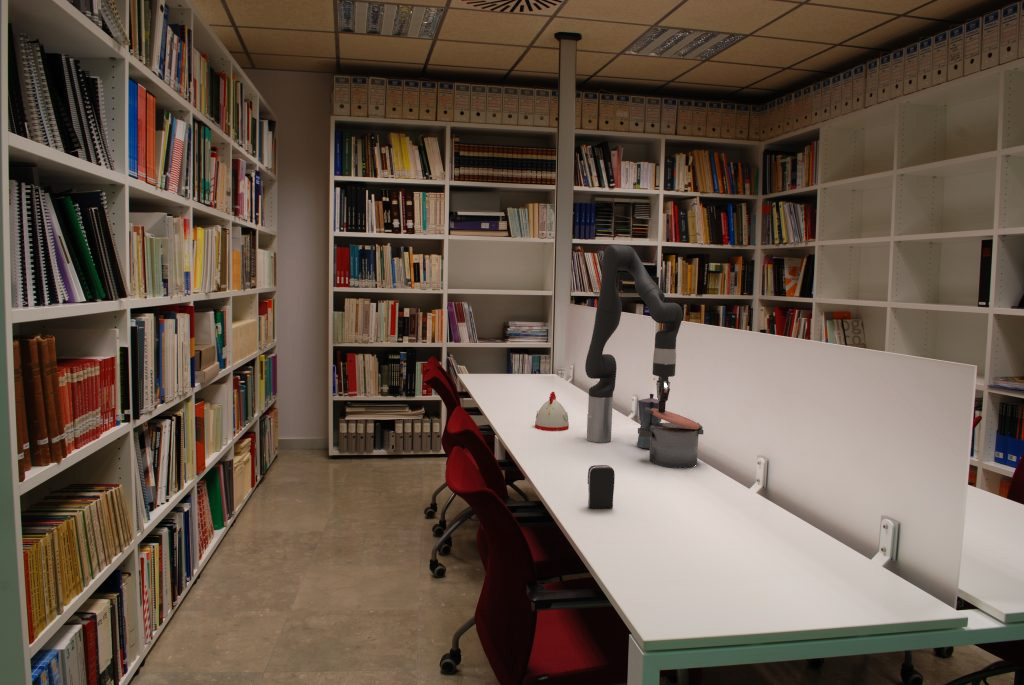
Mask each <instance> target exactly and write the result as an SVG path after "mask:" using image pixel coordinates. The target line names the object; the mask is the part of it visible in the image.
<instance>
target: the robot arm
mask: <svg viewBox="0 0 1024 685" xmlns="http://www.w3.org/2000/svg"><path fill="white" fill-rule="evenodd" d="M603 252H604V253H603V256H602V265H601V266H602V267H601V279H600V288H599V295H598V300H597V304H596V311H595V318H594V326H593V328H592V335H591V340H590V344H589V346H588V350H587V354H586V355H587V356H586V359H585V366H584V370H585V374H586V376H587V377H588V378H589V379H593V380H596V379H597V380H598V379H599V381H598V382H597V383H596V384H595V385H593V386H591V387H590V388H588V405H587V406H588V408H587V409H588V410H587V421H586V440H587V442H593V443H609V442H611V441H612V427H613V426H612V424H613V402H614V391H615V388H616V381H617V380H616V378H617V361H616V358H615V357H614V355H612V354H609V353H607V354H606V353H604V349H605V346H606V344H607V342H608V341H609V339H610V338H611V337H612V335H613V334H614V333H615V332H616V330H617V329H618V327H619V325H620V322H621V317H622V310H623V304H622V300H621V296H620V295H619V292H618V288H617V275H618V271H627V272H628V273H629V274H630V275H631V276H632V277H633V278H634V287H635V291H636V293H637V295H638V296H639V298H640V299H641V300H642V301H643V302H644V303H645V305H646V308H647V310H648V312H649V315H650V317H651V319H652V320H653V321H654V322H655V323H657V324H659V325H660V324H661V325H664V327H663V329H661V330H658V331H656V332H655V337H654V350H653V357H652V358H653V359H652V375H653V376H655V377H658V379H657V380H656V382H655V383H656V384H655V385H656V397H657V400H658V401H659V402H658V411H659V412H660V413H664V412H665V411H666V405H667V404H666V402H667V401H668V400H669V395H670V392H671V382H670V381H669V377H671V378H672V377H673V378H674V377H675V376H676V368H677V367H676V366H677V365H676V363H677V349H676V348H677V336H678V333H679V330H680V328H681V324H682V322H683V317H684V316H683V309H682V306H681V305H680V304H678V303H676V302H664V301H665V293H664V292H663V290H662V289H661V288H660V286H659V285H658V284H657V283H656V282H655V280H653V279H652V277H651V275H650V274H649V273H648V270H647V269H646V267H645V266H644V263H643V262H642V260H641V258H640V257H639V255H638V253H637V251H636V250H635V248H634V247H632V246H631V245H625V244H610V245H607V247H606V248H605V250H604V251H603Z"/></svg>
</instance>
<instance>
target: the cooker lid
mask: <svg viewBox="0 0 1024 685" xmlns="http://www.w3.org/2000/svg"><path fill="white" fill-rule="evenodd" d="M645 411H646V412H647V413H650V414H652V415H654V416H656V417H658V418H660V419H661V420H663V421H665V422H667V423H673V424H676V425H679V426H682V427H686V428H690V429H696V430H698V429H699V430H702V429H703V428H704V427H703V425H701V424H700V423H699V422H696V421H695V420H693V419H690V418H687V417H685V416H684V415H680V414H677V413H674V412H671V411H668V410H665V412H664V413H660V412H659V411H658V409H656V408H652V409H650V408H647V407H645Z"/></svg>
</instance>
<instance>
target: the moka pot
mask: <svg viewBox="0 0 1024 685" xmlns="http://www.w3.org/2000/svg"><path fill="white" fill-rule="evenodd" d="M654 395H655V394H654V393H649V397H647V398H643V399H639V400H637V403H638V418H639V422H640V427H639V428H650V430H651V425H652V424H656V423H662V419H660V418H658V417H656V416H654V415H652V414H650V413H647V412H646V411H645V407H647V408H650V409H652V408H656V409H658V402H659V401H658V398H657V399H656V398H654ZM636 446H637V448H642V449H647V450H650V437H645V436H640V435H639V434H638V438H637V443H636Z"/></svg>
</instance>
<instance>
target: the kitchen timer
mask: <svg viewBox="0 0 1024 685" xmlns="http://www.w3.org/2000/svg"><path fill="white" fill-rule="evenodd" d="M569 426H570V422H569V415H568V411H566V409H565V407H564V406H563V405H562V403H561V402H560V401H558V400H557V396H556V393H555V391H552V392H551V393H550V394H549V399H548V400H547V401H545V402H543V404H542V405H541V407H540V408H539V410H537V411H536V415H535V424H534V428H535V429H536V430H539V431H544V432H563V431H568V430H569V428H570V427H569Z"/></svg>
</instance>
